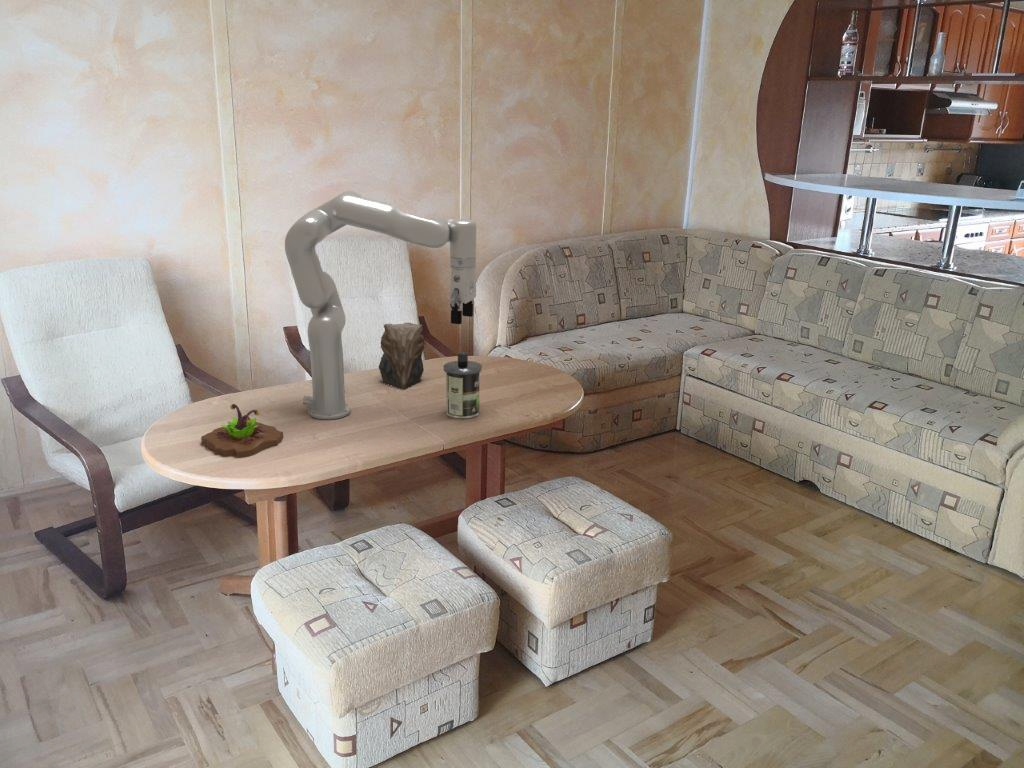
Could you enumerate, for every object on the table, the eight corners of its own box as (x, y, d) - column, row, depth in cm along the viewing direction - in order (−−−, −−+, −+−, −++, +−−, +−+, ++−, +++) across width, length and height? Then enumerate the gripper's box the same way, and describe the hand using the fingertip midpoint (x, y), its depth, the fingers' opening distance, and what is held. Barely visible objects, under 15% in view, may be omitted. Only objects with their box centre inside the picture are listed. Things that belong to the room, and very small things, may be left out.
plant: (248, 424, 249) (245, 388, 245) (294, 440, 238) (291, 402, 235) (189, 445, 233) (185, 407, 229) (235, 463, 222) (232, 423, 219)
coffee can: (480, 407, 265) (480, 364, 261) (478, 419, 256) (478, 374, 251) (447, 406, 265) (447, 363, 261) (444, 418, 256) (444, 374, 251)
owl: (377, 381, 287) (375, 324, 280) (405, 373, 296) (404, 318, 289) (402, 390, 279) (401, 331, 273) (430, 381, 288) (429, 324, 282)
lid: (437, 372, 252) (437, 356, 251) (451, 362, 263) (451, 346, 261) (474, 377, 249) (474, 360, 248) (486, 365, 260) (487, 350, 258)
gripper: (464, 268, 237) (463, 328, 242) (484, 258, 252) (483, 314, 258) (439, 266, 239) (439, 325, 244) (461, 256, 254) (460, 312, 260)
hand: (462, 319), depth 251 cm, fingers open, 9 cm apart
